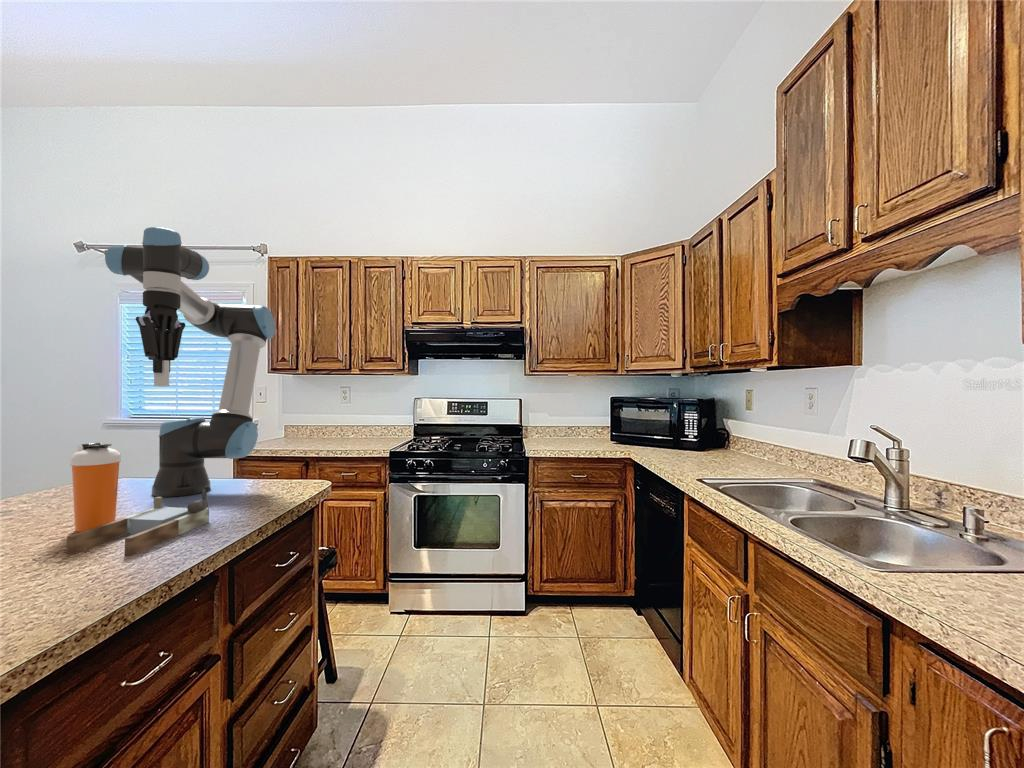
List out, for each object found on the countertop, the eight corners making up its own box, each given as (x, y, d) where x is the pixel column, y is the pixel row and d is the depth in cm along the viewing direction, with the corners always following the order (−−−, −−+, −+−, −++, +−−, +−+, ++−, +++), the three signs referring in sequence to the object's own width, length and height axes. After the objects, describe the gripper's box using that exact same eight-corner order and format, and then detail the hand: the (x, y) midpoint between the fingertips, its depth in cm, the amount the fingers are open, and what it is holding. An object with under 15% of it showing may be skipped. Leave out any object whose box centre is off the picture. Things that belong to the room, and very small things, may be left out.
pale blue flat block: (165, 522, 115) (166, 506, 115) (196, 524, 114) (197, 507, 114) (129, 536, 105) (129, 518, 105) (162, 537, 104) (163, 519, 104)
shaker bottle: (89, 535, 104) (90, 447, 104) (59, 532, 106) (60, 445, 106) (129, 523, 113) (130, 442, 113) (100, 520, 115) (101, 441, 115)
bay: (159, 519, 116) (159, 484, 116) (213, 521, 116) (213, 485, 116) (66, 553, 93) (67, 509, 93) (133, 555, 92) (134, 511, 92)
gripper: (168, 296, 121) (167, 385, 121) (124, 286, 108) (124, 386, 108) (195, 296, 121) (195, 386, 121) (155, 286, 108) (154, 387, 108)
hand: (161, 386), depth 115 cm, fingers closed
